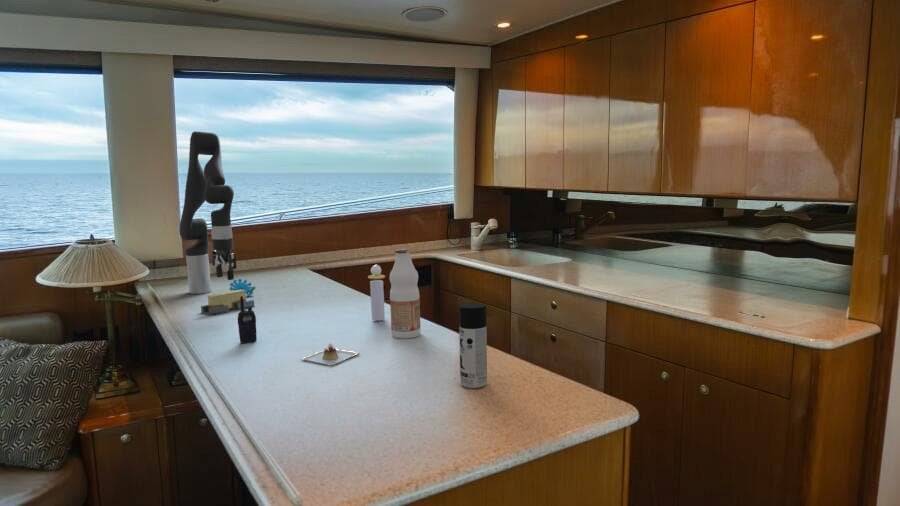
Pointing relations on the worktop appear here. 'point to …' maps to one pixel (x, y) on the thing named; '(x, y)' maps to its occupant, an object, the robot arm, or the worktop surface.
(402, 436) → the worktop surface
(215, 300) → the link bar
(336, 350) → the dessert
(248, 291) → the gear
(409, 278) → the fruit juice
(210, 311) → the grey u-channel block
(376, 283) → the perfume bottle
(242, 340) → the two-way radio
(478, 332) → the spray can
